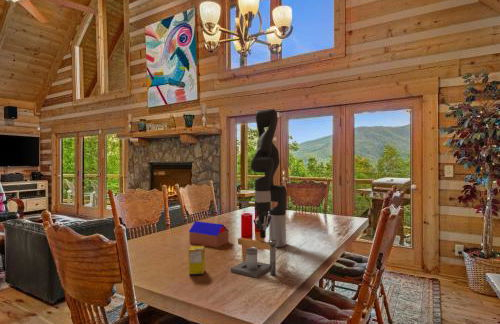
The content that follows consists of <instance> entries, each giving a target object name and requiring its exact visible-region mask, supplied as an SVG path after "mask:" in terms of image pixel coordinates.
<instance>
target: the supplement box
mask: <svg viewBox="0 0 500 324" xmlns="http://www.w3.org/2000/svg"><path fill="white" fill-rule="evenodd" d="M205 251H206V250H205V245H191V246H190V248H189V249H188V271H189V273H188V274H189V275H188V276H203V275H204V274H205V270H206V265H205V263H206V261H205V260H206V259H205V256H206V254H205Z"/></svg>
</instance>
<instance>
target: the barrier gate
mask: <svg viewBox="0 0 500 324" xmlns="http://www.w3.org/2000/svg"><path fill="white" fill-rule="evenodd" d="M276 244H277V240H269V239H268V240H267V241H262V240H258V239H257V240H256V239H249V238H244V237H239V238H238V239H237V245H238V246H239V245H240V246H246V247H249V248H256V249H262V250H268V251H269V264H270V270H269V275H271V276H276V274H277V269H276V268H277V264H276V263H277V259H276V256H277V254H276V253H277V252H276V251H277V247H276Z"/></svg>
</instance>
